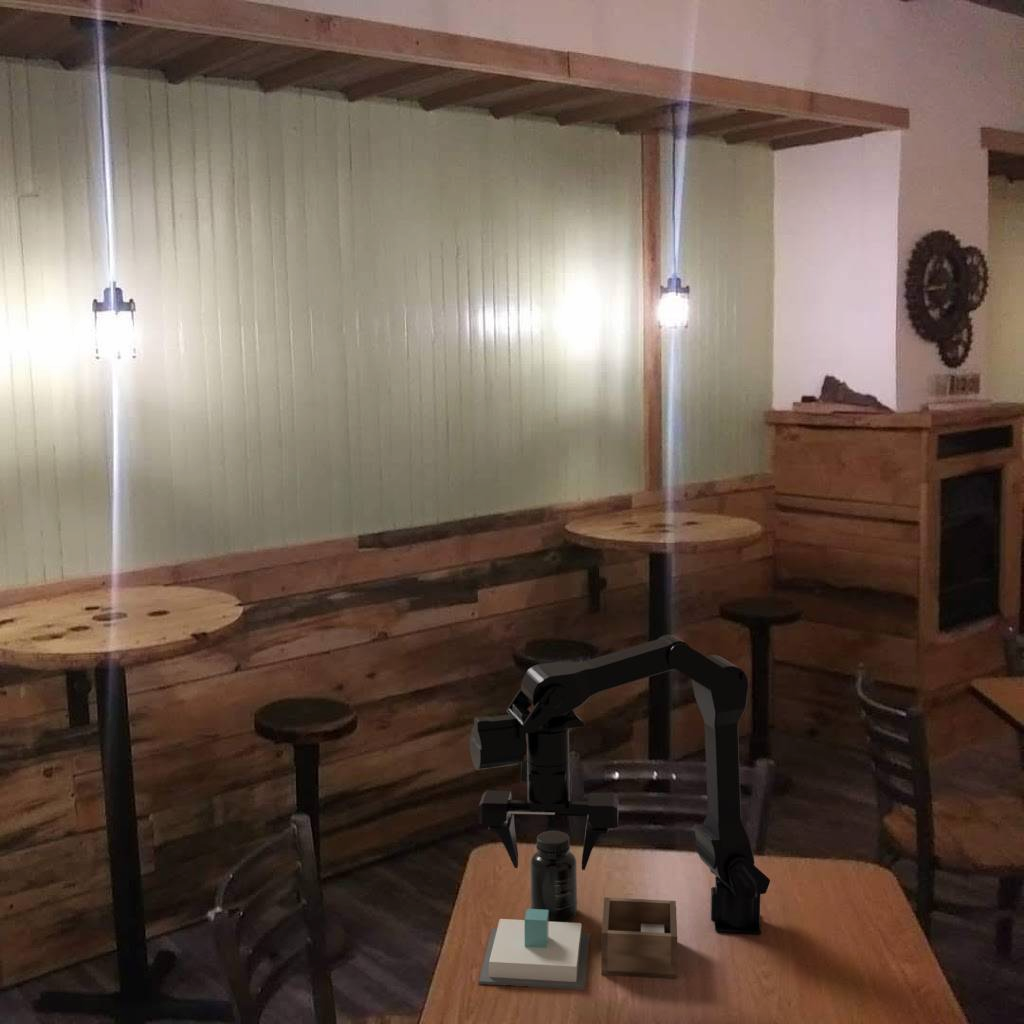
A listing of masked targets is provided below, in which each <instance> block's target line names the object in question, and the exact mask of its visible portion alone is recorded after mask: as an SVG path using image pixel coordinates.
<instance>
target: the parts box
mask: <svg viewBox="0 0 1024 1024" xmlns="http://www.w3.org/2000/svg"><path fill="white" fill-rule="evenodd" d="M677 918H678V917H677V901H676V900H666V899H664V900H663V899H662V900H661V899H646V898H645V899H644V898H643V899H641V898H626V897H625V898H622V897H607V896H605V897H604V898H603V910H602V924H601V946H600V947H601V953H600V954H601V955H600V956H601V959H600V960H601V962H600V964H601V965H600V968H601V969H600V974H601V975H602V976H603V975H604V976H620V977H621V976H623V977H640V978H641V977H642V978H655V977H656V978H657V979H658V978H659V979H675V980H676V979H677V978H678V977H677V976H678V975H677V974H678V973H677V970H678V968H677V967H678V923H677V922H678V921H677ZM662 977H663V978H662Z"/></svg>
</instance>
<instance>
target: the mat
mask: <svg viewBox="0 0 1024 1024" xmlns="http://www.w3.org/2000/svg"><path fill="white" fill-rule="evenodd" d="M496 932H497V928H491V931H490V935H489V939H488V943H487V948H486V951H485V956H484V959H483V963H482V967H481V970H480V975H479V979H478V985H493V986H506V985H512V986H511V987H514V986H513V985H517V986H516V987H523V986H528V987H527V988H540V989H541V988H544V989H546V988H547V989H561V990H578V991H581V990H582V991H585V990H586V982H587V981H586V980H587V970H588V962H589V961H588V958H589V951H590V950H589V949H590V939H591V937H590V936H591V934H590V933H587V932H586V933H584V932H581V946H580V955H579V963H578V972H577V981H576V982H568V981H550V980H533V979H516V978H498V977H489V960H490V956H491V952H492V948H493V944H494V940H495V936H496Z"/></svg>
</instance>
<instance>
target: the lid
mask: <svg viewBox="0 0 1024 1024" xmlns="http://www.w3.org/2000/svg"><path fill="white" fill-rule="evenodd" d="M582 926H583V925H582V922H569V921H567V922H550V921H549V910H542V909H531V908H526V911H525V916H524V919H509V918H507V919H505V918H499V921H498V923H497V928H496V929H497V932H496V936H495V940H494V944H493V948H492V952H491V956H490V960H489V977H498V978H516V979H533V980H550V981H568V982H576V981H577V972H578V963H579V955H580V946H581V933H582Z"/></svg>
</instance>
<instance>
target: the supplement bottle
mask: <svg viewBox="0 0 1024 1024" xmlns="http://www.w3.org/2000/svg"><path fill="white" fill-rule="evenodd" d="M570 842H571V841H570V836H569V835H568V834H567V833H566V832H563V831H560V830H548V831H543V832H541V833H539V834H538V835H537V836H536V846H535V847H536V851H535V852H534V853H533V854H532V855H531V858H530V861H529V867H530V868H529V869H530V871H529V872H530V874H529V876H530V909H542V910H549V921H550V922H569V921H570V922H571V920H573V919H574V918H575V916H576V915H577V913H578V880H577V879H578V875H577V873H578V872H577V871H578V870H577V869H578V867H577V866H578V865H577V864H578V863H577V858H576V856H575V854H574V853H573V852H571V845H570V844H571V843H570Z"/></svg>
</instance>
